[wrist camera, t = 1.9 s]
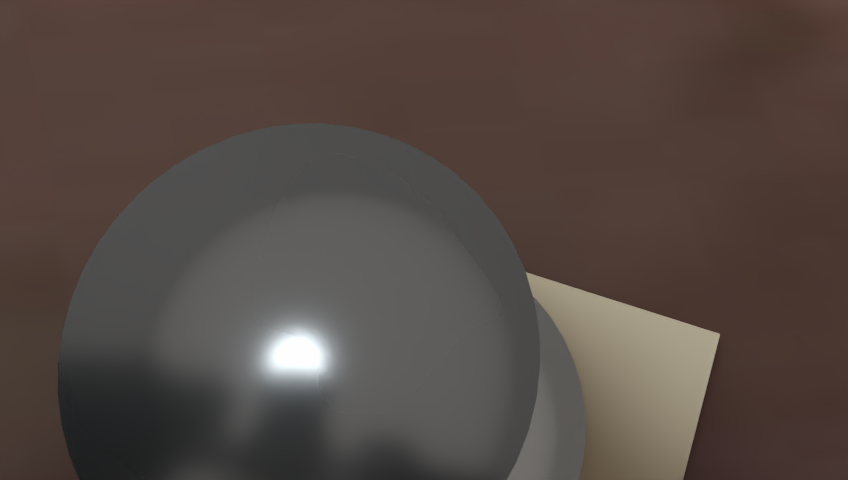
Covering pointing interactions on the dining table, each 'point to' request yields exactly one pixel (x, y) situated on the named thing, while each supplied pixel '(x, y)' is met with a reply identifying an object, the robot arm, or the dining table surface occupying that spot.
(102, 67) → the dining table surface
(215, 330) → the round base post
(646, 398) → the carrier board
